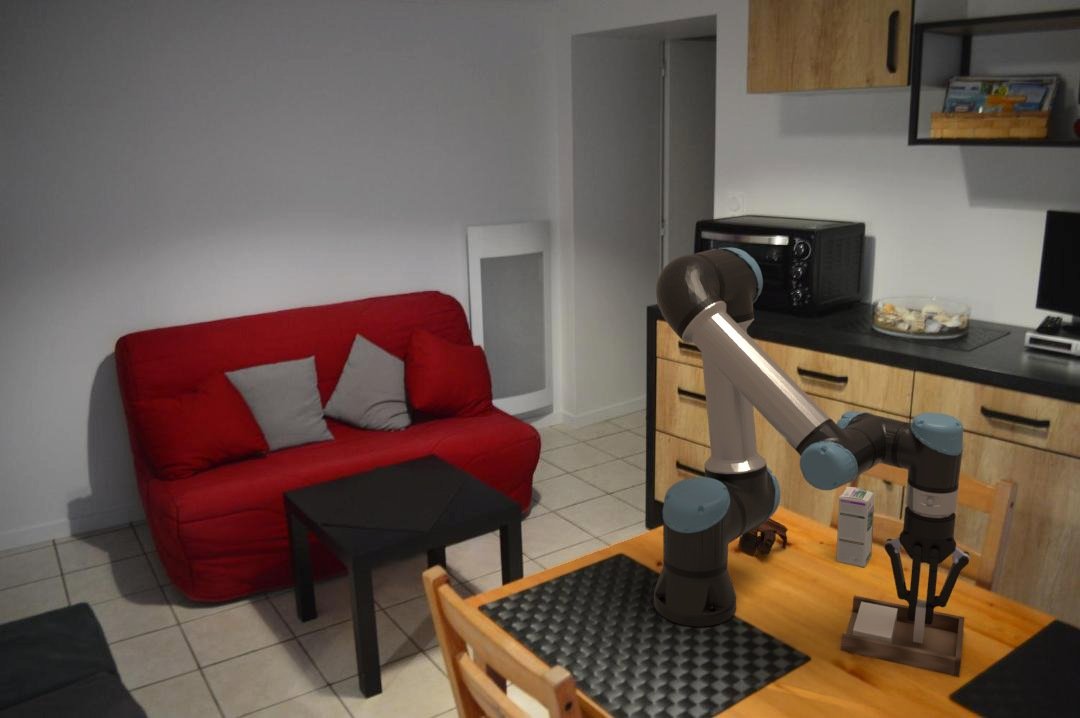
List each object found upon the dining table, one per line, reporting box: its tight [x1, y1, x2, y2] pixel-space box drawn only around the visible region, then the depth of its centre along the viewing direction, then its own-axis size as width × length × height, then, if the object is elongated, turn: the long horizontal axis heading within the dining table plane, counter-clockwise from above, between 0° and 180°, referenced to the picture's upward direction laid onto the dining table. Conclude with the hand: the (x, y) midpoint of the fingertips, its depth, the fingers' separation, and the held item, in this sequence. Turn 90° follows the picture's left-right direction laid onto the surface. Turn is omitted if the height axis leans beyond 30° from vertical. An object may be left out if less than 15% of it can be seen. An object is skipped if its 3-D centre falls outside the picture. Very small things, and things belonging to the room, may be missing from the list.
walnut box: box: [840, 595, 965, 678], centre depth 151 cm, size 18×14×4 cm
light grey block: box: [853, 602, 898, 643], centre depth 153 cm, size 6×10×3 cm, turn 153°
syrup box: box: [836, 486, 875, 568], centre depth 180 cm, size 6×6×14 cm
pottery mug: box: [737, 517, 788, 557], centre depth 186 cm, size 12×10×8 cm
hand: (918, 638), depth 150 cm, fingers closed
